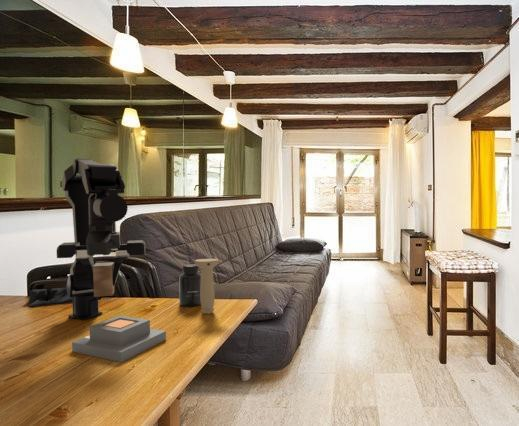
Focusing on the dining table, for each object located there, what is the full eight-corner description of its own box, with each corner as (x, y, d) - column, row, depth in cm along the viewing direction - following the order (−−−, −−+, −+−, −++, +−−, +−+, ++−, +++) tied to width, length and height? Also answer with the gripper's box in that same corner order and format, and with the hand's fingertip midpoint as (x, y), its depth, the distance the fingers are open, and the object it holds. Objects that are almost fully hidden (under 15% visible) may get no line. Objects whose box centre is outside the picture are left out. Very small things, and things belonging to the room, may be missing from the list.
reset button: (104, 337, 90) (104, 325, 90) (120, 331, 94) (120, 319, 94) (120, 340, 88) (120, 328, 88) (135, 334, 92) (135, 321, 92)
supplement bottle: (191, 308, 121) (191, 267, 120) (174, 305, 124) (173, 265, 124) (206, 302, 127) (206, 264, 126) (190, 300, 130) (189, 262, 130)
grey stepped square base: (72, 351, 88) (71, 328, 88) (120, 331, 101) (120, 311, 101) (121, 362, 82) (120, 337, 82) (166, 339, 95) (165, 318, 94)
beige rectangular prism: (93, 296, 93) (93, 266, 93) (96, 292, 97) (95, 263, 97) (112, 295, 94) (111, 265, 94) (114, 291, 98) (113, 262, 98)
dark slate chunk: (101, 303, 130) (101, 288, 130) (24, 309, 124) (23, 293, 124) (105, 292, 145) (105, 278, 145) (36, 297, 139) (35, 283, 139)
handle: (220, 314, 115) (219, 260, 114) (197, 316, 112) (196, 262, 112) (216, 309, 119) (216, 258, 118) (194, 311, 117) (193, 259, 116)
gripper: (49, 222, 84) (51, 297, 85) (143, 220, 89) (144, 291, 90) (61, 218, 95) (63, 284, 96) (144, 217, 100) (146, 280, 101)
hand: (104, 285), depth 96 cm, fingers closed on beige rectangular prism, 4 cm apart
